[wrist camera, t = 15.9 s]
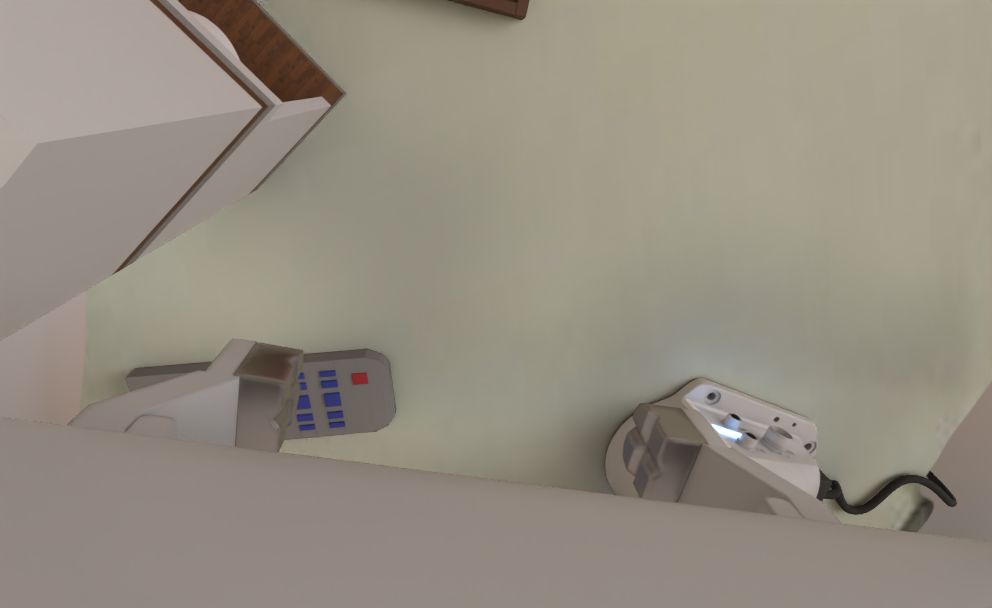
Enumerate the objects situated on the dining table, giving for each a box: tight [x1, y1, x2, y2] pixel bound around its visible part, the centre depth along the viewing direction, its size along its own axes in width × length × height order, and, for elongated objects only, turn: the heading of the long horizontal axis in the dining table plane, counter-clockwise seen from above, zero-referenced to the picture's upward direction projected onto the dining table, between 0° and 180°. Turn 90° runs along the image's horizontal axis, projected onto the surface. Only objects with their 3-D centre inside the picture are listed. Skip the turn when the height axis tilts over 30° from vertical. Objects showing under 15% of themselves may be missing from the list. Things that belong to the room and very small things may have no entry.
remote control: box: [125, 349, 396, 440], centre depth 51 cm, size 8×23×2 cm, turn 93°
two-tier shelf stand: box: [0, 0, 346, 341], centre depth 26 cm, size 11×11×35 cm
